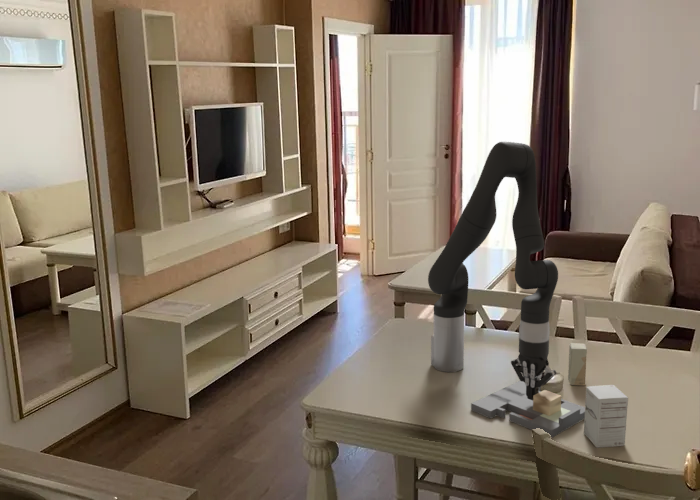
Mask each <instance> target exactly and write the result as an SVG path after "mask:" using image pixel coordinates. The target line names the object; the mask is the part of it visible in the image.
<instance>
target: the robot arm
mask: <svg viewBox="0 0 700 500" xmlns="http://www.w3.org/2000/svg"><path fill="white" fill-rule="evenodd" d="M536 164H537V163H536V156H535V153H534V150H533V148H532V147H531V146H530V145H528V144H526V143H522V142H521V143H520V142H514V141H513V142H512V141H499V142H497V143H496V144H494V145H493V147H492V148H491V149H490V151H489V153H488V155H487V158H486V160H485V163H484V166H483V168H482V170H481V173H480V175H479V177H478V181H477V183H476V185H475V188H474V190H473V192H472V194H471V196H470V197H469V200H468V202H467V204H466V206H465V207H464V209H463V211H462V212H461V215H459V218H458V221H457V223H456V225H455V227H454V229H453V231H452V232H451V235H450V236H449V238H448V239H447V240H448V241H447V242H446V244H445V247H444V248H443V249H442V251H441V253H440V254H439V256H438V257H437V259H436V260H435V261H434V262H433V265H432V266H431V267H430V270H429V272H428V275H427V283H428V287H429V289H430V290H431V291H432V292H433V293H435V294H436V295H441V296H440V298H439V299H437V301H435V302H434V305H433V334H432V335H431V336H430V366H433V368H434V369H435V370H437V371H440V372H447V373H455V372H459V371H461V370H463V369H464V363H465V362H464V361H465V359H464V357H465V352H464V350H465V309H466V307H467V304H468V295H469V273H468V269H467V267H466V265H465V264H464V261H466V259H468V258H469V256H470V255H471V254H473V253H474V252H475V250H477V249H478V248H479V247H480V246H481V245H482V244H483V242H484V241H486V239H487V238H488V236H489V234H490V232H491V230H492V229H493V228H494V227H493V226H494V225H495V222H496V220H497V205H496V204H497V203H496V193H497V191H498V189H499V186H500V184H501V183H502V181H503V180H504V178H511V179H513V178H514V179H515V181H516V185H517V189H518V196H517V201H516V205H515V207H514V209H513V214H512V219H511V220H512V221H511V223H512V224H511V225H512V226H511V228H512V233H513V237H514V242H515V251H516V252H515V254H516V255H515V265H514V267H515V268H514V280H515V283H516V284H517V286H518V287H519V288H520V289H522V290H536V291H534V293H532V294H530V295H527V296H525V297H523V298H522V300H521V303H520V323H519V328H518V329H519V330H518V333H519V335H518V357H517V358H515V359H513V360H512V359H511V361H510V364H511V366H512V368H513V370H514V371H515V374H516V376H517V378H518V379H519V381H523V382H525V384H526V396H527V398H528V399H530V400H533V395H535V394H537V393H538V391H539V387H541V388H542V387H543V386H545V385H547V383H549V382H550V381H551V380H552V378H554V377H555V375H557V371H556V370H555V369H553V370H552V368H551V367H550V362H549V360H548V359H549V358H548V356H549V352H550V331H551V329H550V306H551V302H552V299H553V296H554V293H555V290H556V288H557V285H558V281H559V269H558V267H557V265H556V264H555V262H554V261H552V260H549V259H540V260H531V258H530V257H531V255H532V254H535V253H539V252H541V251H543V249H544V248H545V240H544V235H543V234H544V233H543V230H542V226H541V221H540V216H539V215H540V214H539V209H538V189H537V188H538V185H537V184H538V183H537V182H538V181H537V165H536ZM543 375H544V376H543Z"/></svg>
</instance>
